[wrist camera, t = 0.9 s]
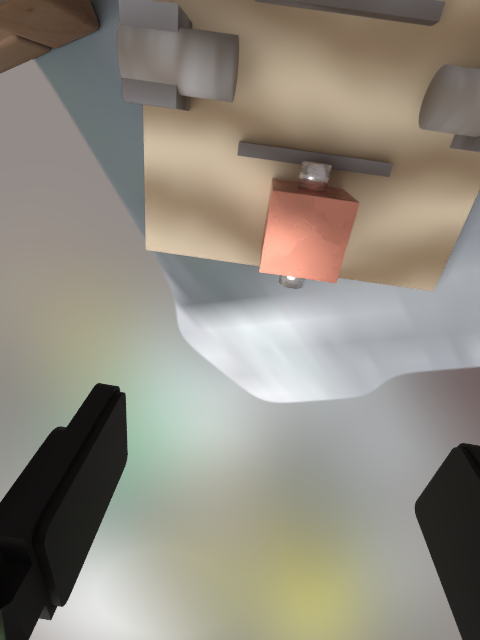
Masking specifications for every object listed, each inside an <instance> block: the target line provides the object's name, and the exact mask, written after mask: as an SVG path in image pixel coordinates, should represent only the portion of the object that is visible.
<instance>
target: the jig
mask: <svg viewBox="0 0 480 640" xmlns="http://www.w3.org/2000/svg"><path fill="white" fill-rule="evenodd" d="M118 2H119V28H118V33H117V56H118V64H119V69H120V73H121V76H122V92H123V101H125V102H131V103H137V104H143V118H144V171H145V224H146V250H151V251H158V252H165V253H172V254H179V255H186V256H193V257H199V258H206V259H213V260H220V261H227V262H234V263H241V264H248V265H255V266H260V255H261V245H262V239H263V232H264V226H265V220H266V213H267V207H268V201H269V195H270V188H271V182H272V179H279V180H286V181H293V182H298V181H299V176H300V171H301V166H302V161H310V162H317V163H323V164H328V165H331V166H332V167H331V172H330V176H329V180H328V184H327V186H328V187H335V188H342V189H344V190H345V191H347V192H348V193H349V194H350V195H351V196H352V197H354V198H355V199H356V200H357V201H358V202H359V203H360V204H359V207H358V211H357V214H356V217H355V221H354V224H353V228H352V231H351V235H350V238H349V242H348V245H347V248H346V252H345V255H344V259H343V262H342V266H341V269H340V273H339V276H338V278H345V279H352V280H359V281H366V282H373V283H380V284H387V285H394V286H400V287H407V288H414V289H421V290H428V291H434V289H435V287H436V285H437V282H438V280H439V278H440V276H441V274H442V271H443V269H444V267H445V265H446V263H447V261H448V258H449V256H450V254H451V252H452V250H453V247H454V245H455V243H456V241H457V239H458V236H459V234H460V232H461V230H462V228H463V225H464V223H465V221H466V219H467V217H468V214H469V212H470V210H471V208H472V206H473V203H474V201H475V199H476V197H477V195H478V192H479V190H480V0H118Z"/></svg>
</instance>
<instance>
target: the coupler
mask: <svg viewBox="0 0 480 640" xmlns="http://www.w3.org/2000/svg"><path fill="white" fill-rule="evenodd" d="M331 167H332V166H331V165H328V164H323V163H317V162H310V161H302V166H301V171H300V176H299V181H298V182H293V181H286V180H279V179H272V182H271V188H270V195H269V201H268V207H267V213H266V220H265V226H264V232H263V239H262V245H261V255H260V269H259V272H263V273H270V274H277V275H280V278H279V283H280V284H281V285H283V286H285V287H288V288H294V289H298V288H302V287H303V285H304V281H305V279H312V280H319V281H325V282H332V283H337V279H338V276H339V273H340V269H341V266H342V262H343V259H344V255H345V252H346V248H347V245H348V242H349V238H350V235H351V231H352V228H353V224H354V221H355V217H356V214H357V211H358V207H359V204H360V203H359V202H358V201H357V200H356V199H355V198H354V197H352V196H351V195H350V194H349V193H348V192H347V191H345V190H344V189H342V188H335V187H328V186H327V184H328V180H329V176H330V172H331Z"/></svg>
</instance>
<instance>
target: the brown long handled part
mask: <svg viewBox="0 0 480 640" xmlns="http://www.w3.org/2000/svg"><path fill="white" fill-rule="evenodd" d="M98 28H99V23H98V19H97V17H96V14H95V12H94V9H93V6H92V4H91V1H90V0H0V73H2V72H5V71H6V70H9V69H11V68H13V67H16V66H18V65H20V64H22V63H25V62H27V61H29V60H31V59H34V58H36V57H38V56H40V55H43V54H45V53H47V52H49V51H50V49H51V48H50V47H52V48H59V47H61V46H63V45H65V44H68V43H70V42H72V41H74V40H76V39H79V38H81V37H83V36H85V35H88V34H90V33H92V32H94V31H96V30H97V29H98Z"/></svg>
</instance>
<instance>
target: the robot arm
mask: <svg viewBox="0 0 480 640" xmlns="http://www.w3.org/2000/svg"><path fill="white" fill-rule="evenodd" d="M126 423H127V422H126V395H125V393H123V392H120V388H119V387H118V386H112V385H107V384H101V383H98V384H96V385H95V386H94V388H93V389H92V391H91V392H90V394H89V395H88V397H87V398H86V400H85V401H84V402H83V404H82V406H81V407H80V408H79V410H78V411H77V413H76V414H75V416H74V417H73V419H72V420H71V422H70V423H69V425H68V426H67V427H57V428H55V429H54V430H53V431H52V432H51V433H50V434H49V436H48V437H47V438H46V440H45V441H44V443H43V444H42V445H41V447H40V448H39V450H38V451H37V452H36V454H35V455H34V456H33V458H32V459H31V460H30V462H29V463H28V465H27V466H26V467H25V469H24V470H23V472H22V473H21V474H20V476H19V477H18V479H17V480H16V481H15V483H14V484H13V486H12V487H11V488H10V490H9V491H8V493H7V494H6V495H5V497H4V498H3V500H2V501H1V502H0V640H29V638H30V636H31V634H32V632H33V629H34V627H35V625H36V623H37V621H38V619H39V618H41V619H46V620H51V619H52V617H53V615H54V612H55V610H56V608H57V606H61V607H63V606H64V605H65V604H66V602H67V600H68V598H69V596H70V594H71V592H72V589H73V587H74V585H75V583H76V580H77V578H78V575H79V573H80V571H81V568H82V566H83V564H84V562H85V559H86V557H87V554H88V552H89V550H90V547H91V545H92V543H93V540H94V538H95V536H96V533H97V531H98V529H99V526H100V524H101V522H102V519H103V517H104V515H105V512H106V510H107V508H108V505H109V503H110V501H111V498H112V496H113V493H114V491H115V489H116V486H117V484H118V482H119V480H120V477H121V475H122V472H123V470H124V468H125V465H126V461H127V455H128V452H127V424H126ZM415 514H416V517H417V519H418V522H419V525H420V528H421V530H422V533H423V536H424V538H425V541H426V544H427V546H428V549H429V552H430V554H431V557H432V560H433V562H434V565H435V568H436V570H437V573H438V576H439V578H440V581H441V584H442V586H443V589H444V591H445V594H446V597H447V600H448V602H449V605H450V608H451V610H452V613H453V616H454V618H455V621H456V624H457V626H458V629H459V632H460V634H461V637H462V639H463V640H480V446H478V445H472V444H466V443H462V444H460V445H459V446H458V447H455V448H453V449H452V450H451V452H450V453H449V455H448V456H447V458H446V459H445V461H444V462H443V463H442V465H441V466H440V468H439V469H438V471H437V472H436V474H435V475H434V477H433V478H432V479H431V481H430V482H429V484H428V485H427V487H426V488H425V490H424V491H423V492H422V494H421V495H420V497H419V498H418V499H417V501H416V503H415Z"/></svg>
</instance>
